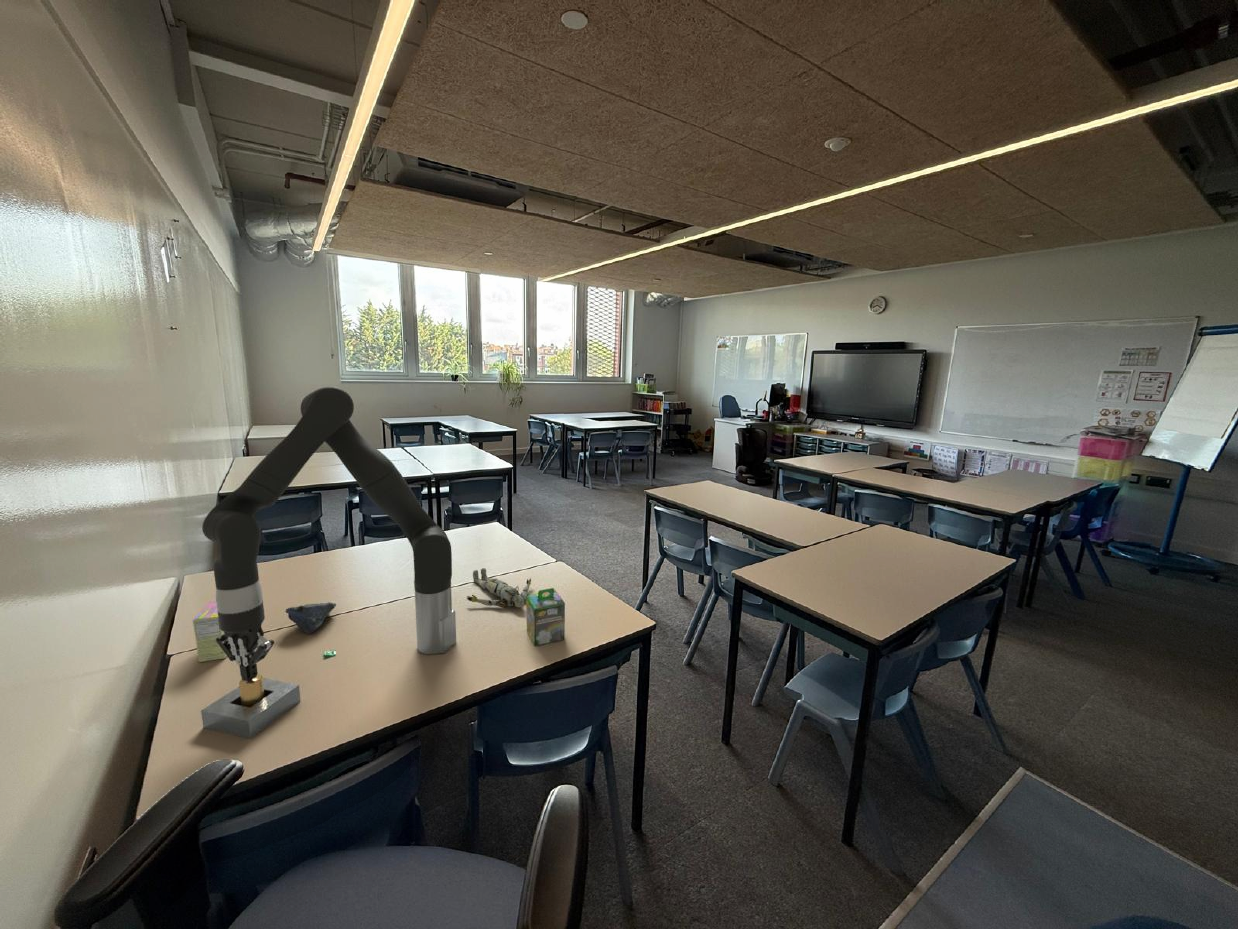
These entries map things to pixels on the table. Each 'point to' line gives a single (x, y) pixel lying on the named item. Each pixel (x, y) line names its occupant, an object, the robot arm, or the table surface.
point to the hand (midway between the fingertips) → (249, 678)
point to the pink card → (329, 653)
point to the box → (208, 634)
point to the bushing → (251, 691)
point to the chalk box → (545, 617)
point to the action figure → (499, 591)
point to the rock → (309, 615)
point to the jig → (250, 709)
